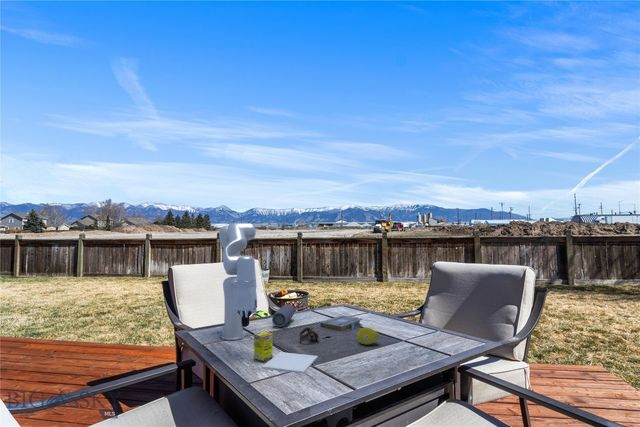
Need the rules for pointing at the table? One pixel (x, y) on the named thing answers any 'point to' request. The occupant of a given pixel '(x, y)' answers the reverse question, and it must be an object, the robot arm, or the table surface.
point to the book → (340, 324)
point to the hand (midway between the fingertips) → (245, 326)
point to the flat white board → (290, 362)
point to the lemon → (367, 336)
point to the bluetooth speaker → (283, 316)
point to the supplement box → (263, 346)
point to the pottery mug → (309, 334)
